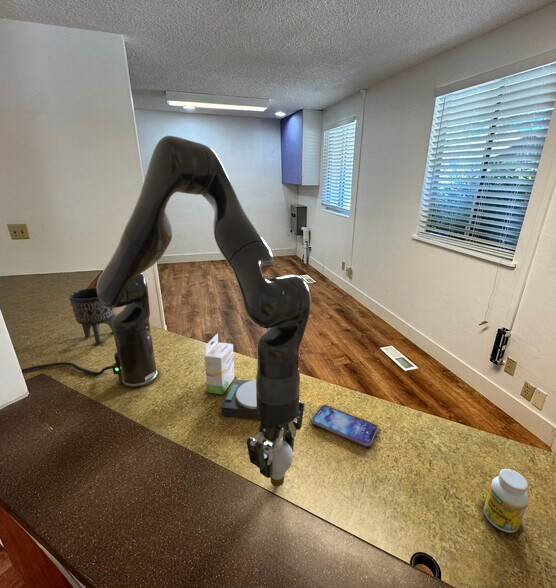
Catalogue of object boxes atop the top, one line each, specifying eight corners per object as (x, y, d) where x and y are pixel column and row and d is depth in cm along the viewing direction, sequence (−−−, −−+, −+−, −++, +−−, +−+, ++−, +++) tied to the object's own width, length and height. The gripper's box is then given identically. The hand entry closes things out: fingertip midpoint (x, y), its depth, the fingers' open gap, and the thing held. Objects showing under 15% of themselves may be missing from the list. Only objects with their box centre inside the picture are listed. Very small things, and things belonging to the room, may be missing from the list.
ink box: (223, 395, 84) (220, 348, 80) (206, 392, 85) (202, 346, 80) (235, 377, 93) (233, 334, 88) (220, 375, 93) (217, 332, 88)
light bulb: (296, 475, 62) (297, 437, 58) (285, 502, 56) (286, 461, 53) (269, 466, 64) (269, 428, 60) (257, 491, 58) (256, 451, 55)
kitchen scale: (221, 415, 77) (220, 404, 76) (234, 386, 89) (234, 376, 88) (275, 420, 76) (275, 409, 75) (282, 390, 87) (282, 380, 86)
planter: (110, 326, 122) (102, 285, 116) (126, 336, 115) (118, 292, 109) (73, 338, 113) (62, 293, 107) (89, 349, 106) (78, 302, 100)
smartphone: (322, 403, 81) (378, 425, 74) (322, 406, 81) (378, 428, 74) (310, 420, 75) (369, 445, 68) (310, 423, 75) (369, 448, 68)
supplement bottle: (523, 522, 54) (538, 482, 51) (510, 540, 51) (526, 500, 48) (490, 498, 58) (503, 460, 55) (477, 513, 55) (490, 475, 52)
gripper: (286, 363, 60) (284, 430, 66) (232, 402, 49) (236, 479, 55) (318, 377, 56) (314, 447, 62) (267, 423, 45) (268, 503, 51)
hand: (277, 462), depth 58 cm, fingers closed on light bulb, 6 cm apart
